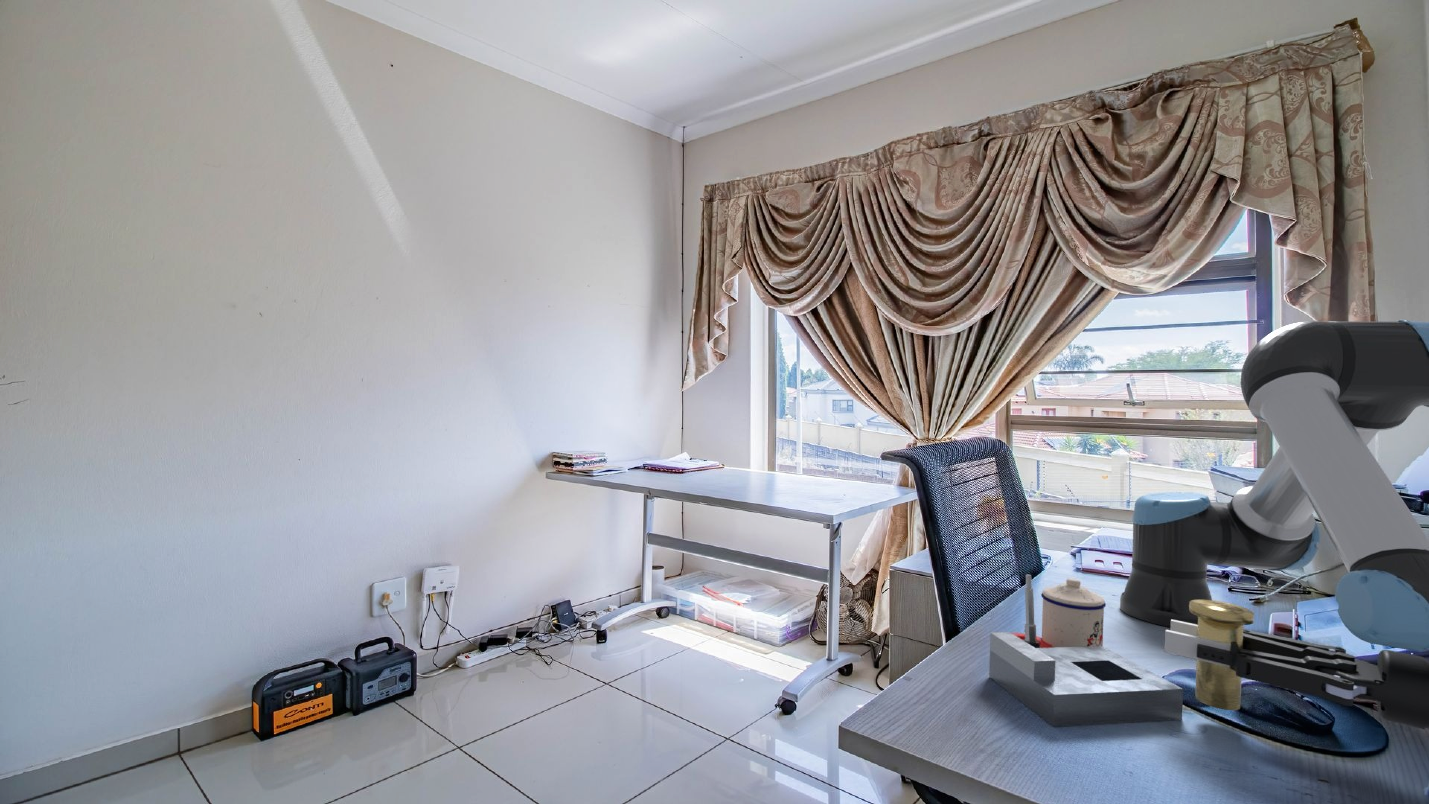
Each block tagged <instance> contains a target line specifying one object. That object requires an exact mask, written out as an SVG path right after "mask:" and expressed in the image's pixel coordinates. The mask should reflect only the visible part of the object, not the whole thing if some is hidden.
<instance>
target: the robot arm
mask: <svg viewBox="0 0 1429 804" xmlns="http://www.w3.org/2000/svg"><path fill="white" fill-rule="evenodd" d="M1241 368H1242V369H1241V373H1240V383H1239V384H1240V388H1241V393H1242V396H1243V400H1244V402H1245V403H1246V406H1247V407H1248V410H1249V412H1250V413H1251V415H1252V416H1253V417H1254V418H1255V419H1256V420H1259V421H1260V422H1263V423H1266V424H1267V425H1268V427H1269V429H1270V431H1271V433H1272V434H1273V436H1274V438H1275V440H1276V442H1277V444H1278V446H1279V447H1278V448H1277V449H1276V452H1274V455H1273V456H1272V458H1270V460H1269V462H1268V463H1267V465H1266V467H1265V468H1264V469H1263V471H1262V473H1260V476H1259V477H1258V479H1257V480H1256V482H1255V483H1254V484H1253V485H1250V486H1247V487H1246V486H1245V487H1243V488H1241V489H1239V490H1238V491H1237V492H1235V494H1234V495H1233V497H1232V499H1231V500H1230V502H1217V501H1215V502H1214V501H1211V500H1210V498H1209V497H1208V495H1205V494H1203V493H1197V492H1180V491H1179V492H1178V491H1176V492H1175V491H1174V492H1173V491H1172V492H1169V491H1167V492H1156V493H1155V492H1154V493H1148V494H1145V495H1142V496H1140V497H1138V498H1137V499H1136V500H1135V503H1134V506H1133V507H1134V509H1133V516H1132V519H1131V520H1132V521H1131V522H1132V523H1133V524H1132V558H1131V559H1132V561H1131V562H1132V563H1131V571H1130V575H1129V576H1128V579H1127V582H1126V584H1125V587H1124V592H1123V591H1122V593H1121V595H1120V599H1119V600H1120V602H1119V603H1120V604H1119V608H1120V610H1121V611H1122V612H1123V613H1125V614H1126V615H1129V616H1130V617H1133V618H1136V619H1138V620H1141V621H1144V622H1148V623H1151V624H1156V625H1160V626H1164V627H1169V628H1170V630H1169V629H1165V633H1164V634H1165V635H1164V652H1165V653H1168V654H1171V655H1176V656H1181V657H1184V658H1187V659H1188V658H1189V659H1193V660H1196V661H1197V660H1201V661H1205V662H1209V663H1213V664H1217V665H1221V666H1226V667H1229V666H1230V669H1232V670H1234V671H1236V675H1237V676H1238V677H1241V679H1246V680H1249V681H1254V682H1259V683H1261V684H1266V685H1270V686H1274V687H1278V688H1282V689H1287V690H1290V691H1293V692H1294V691H1295V692H1297V693H1302V694H1305V695H1311V696H1314V697H1318V698H1323V699H1325V700H1328V701H1332V702H1334V703H1337V704H1340V705H1342V706H1345V707H1353V706H1354V700H1355V699H1358V700H1359V699H1360V700H1367V701H1373V702H1376V708H1377V709H1376V710H1377V713H1378V716H1379V717H1380V718H1381V719H1384V720H1386V721H1390V722H1394V723H1397V724H1401V725H1405V726H1409V727H1413V728H1417V729H1421V730H1425V729H1429V660H1428V659H1426V658H1425V657H1424V656H1419V655H1414V654H1410V653H1404V652H1399V651H1395V650H1390V649H1382V650H1380V651H1379V653H1378V655H1377V662H1376V663H1370V662H1369V661H1364V660H1361V659H1358V658H1355V656H1354V655H1353V654H1349V653H1347V649H1346V648H1343V647H1341V646H1334V645H1333V646H1332V645H1324V644H1318V643H1314V642H1308V641H1304V640H1300V639H1299V640H1298V639H1293V638H1290V637H1289V638H1288V637H1284V636H1279V635H1274V634H1270V633H1269V634H1268V633H1265V632H1264V633H1263V632H1259V631H1255V630H1250V629H1246V628H1243V649H1239V648H1238V644H1237V643H1236V642H1231V650H1230V644H1229V643H1225V642H1220V641H1216V640H1211V639H1207V638H1202V637H1198V636H1197V635H1198V616H1196V615H1194V614H1192V613H1191V612H1190V611H1189V602H1190V601H1192V600H1213V598H1212V595H1211V592H1210V591H1211V590H1210V588H1209V585H1208V582H1207V578H1208V576H1207V573H1208V572H1207V571H1208V565H1213V566H1226V567H1233V568H1234V567H1236V568H1246V569H1256V570H1257V569H1258V570H1267V571H1273V572H1274V571H1276V572H1278V571H1295V570H1296V571H1297V570H1300V569H1302V568H1305V567H1306V566H1308V565H1309V564H1311V562H1312V561H1313V560H1314V558H1315V557H1316V555H1317V554H1318V550H1319V547H1318V544H1319V543H1320V542H1321V541H1320V540H1321V536H1320V535H1321V534H1320V528H1319V525H1318V523H1317V521H1316V519H1315V516H1314V514H1313V513H1314V512H1315V513H1316V516H1317V517H1318V519H1319V520H1320V521H1319V522H1320V523H1321V525H1322V526H1323V528H1324V530H1325V532H1326V534H1327V536H1328V538H1329V539H1330V541H1331V542H1332V544H1333V547H1334V548H1335V550H1336V552H1337V553H1338V556H1339V557H1340V559H1341V561H1342V563H1343V565H1344V566H1345V568H1346V570H1347V573H1345V574H1344V575H1343V576H1342V577H1341V578H1340V579H1339V581H1338V583H1337V584H1336V587H1335V595H1334V596H1335V597H1334V598H1335V601H1336V603H1337V604H1338V608H1337V613H1338V616H1339V618H1340V620H1341V622H1342V623H1343V626H1344V627H1345V628H1346V629H1347V630H1348V631H1349V632H1350V633H1351V634H1352V635H1354V636H1355V637H1356V638H1358V639H1359V640H1360V641H1363V642H1365V643H1367V644H1368V643H1369V644H1373V645H1377V646H1385V647H1390V648H1394V649H1401V650H1407V651H1410V652H1421V653H1422V652H1429V537H1428V536H1427V534H1426V533H1425V531H1424V530H1423V528H1422V527H1421V525H1420V524H1419V522H1418V520H1417V519H1416V518H1415V516H1414V515H1413V513H1412V511H1411V510H1410V509H1409V507H1408V506H1407V504H1406V503H1405V500H1403V498H1402V497H1401V495H1400V493H1399V492H1398V490H1397V489H1396V487H1395V486H1394V485H1393V483H1392V481H1391V480H1390V479H1389V477H1388V476H1387V474H1386V473H1385V471H1384V470H1383V468H1382V467H1381V465H1380V463H1379V462H1378V461H1377V459H1376V457H1375V456H1374V454H1373V453H1372V452H1371V450H1370V448H1369V447H1368V445H1369V443H1370V442H1371V441H1372V440H1373V438H1375V436H1376V435H1377V434H1378V432H1379V431H1388V430H1392V429H1395V428H1398V427H1399V426H1401V425H1402V424H1403V423H1404V422H1405V421H1406V420H1407V419H1408V418H1409V416H1410V415H1411V414H1412V413H1413V412H1414V410H1416V408H1418V407H1421V406H1424V407H1427V408H1429V321H1420V320H1419V321H1416V320H1415V321H1413V320H1408V319H1399V320H1396V321H1391V320H1389V321H1381V320H1380V321H1379V320H1378V321H1367V320H1366V321H1363V320H1362V321H1357V320H1355V321H1352V320H1350V321H1348V320H1347V321H1343V320H1342V321H1336V320H1335V321H1333V320H1332V321H1324V320H1323V321H1322V320H1309V321H1301V322H1296V323H1291V324H1287V325H1285V326H1282V327H1280V328H1277V329H1276V330H1273V331H1272V332H1270V333H1269V334H1267V335H1265V336H1264V337H1263V338H1262V339H1260V340H1259V341H1258V342H1257V343H1256V344H1255V345H1254V346H1253V348H1252V349H1251V350H1250V352H1249V353H1248V355H1247V356H1246V358H1245V361H1244V363H1243V365H1242V367H1241Z"/></svg>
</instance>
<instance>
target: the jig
mask: <svg viewBox="0 0 1429 804" xmlns="http://www.w3.org/2000/svg"><path fill="white" fill-rule="evenodd" d="M1012 633H1013V632H1010V631H1000V632H999V631H998V632H990V634H989V635H990V638H989V639H990V640H989V644H990V645H989V674H988V676H989V678H990V679H991V680H992V679H993V680H992V681H994V683H996V684H998V686H1000V687H1002V688H1003V690H1005V691H1007V692H1008V693H1009V694H1010V695H1012V696H1013V697H1015V698H1016V699H1017V700H1018V701H1020V702H1021V703H1022V704H1023V705H1024V706H1026V707H1027V708H1028V709H1030V710H1031V711H1032V712H1034V713H1035V714H1036V715H1037V716H1039V717H1040V718H1041V719H1042V720H1043V721H1045V722H1047V723H1048V724H1049V725H1050V726H1051V727H1053V728H1057V727H1061V728H1062V727H1076V726H1077V727H1078V726H1093V725H1094V726H1096V725H1112V724H1113V725H1114V724H1116V725H1117V724H1131V723H1150V722H1167V721H1169V722H1170V721H1183V705H1184V704H1183V701H1184V699H1183V698H1184V696H1183V695H1184V688H1182V687H1180V685H1179V686H1178V685H1176V684H1175V683H1173V682H1171V681H1169V680H1167V679H1165V678H1163V677H1161V676H1159V675H1158V674H1156V673H1154V672H1152V671H1151V670H1148V669H1146V668H1144V667H1143V666H1140V665H1139V664H1137V663H1135V662H1133V661H1131V660H1130V659H1128V658H1125V657H1124V656H1122V655H1120V654H1119V653H1116V652H1115V651H1112V650H1110V649H1108V648H1107V647H1105V646H1104V645H1103V646H1081V647H1053V648H1035V647H1033V646H1031V645H1030V644H1028V643H1027V642H1025V641H1023V640H1022V639H1020V638H1018V637H1017V636H1015V635H1014V634H1012Z"/></svg>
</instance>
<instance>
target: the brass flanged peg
mask: <svg viewBox="0 0 1429 804" xmlns="http://www.w3.org/2000/svg"><path fill="white" fill-rule="evenodd" d="M1189 611H1190V612H1191V613H1192V614H1194V615H1196V616H1198V635H1197V636H1198V637H1202V638H1207V639H1211V640H1216V641H1220V642H1225V643H1229V644H1230V650H1231V642H1236V643H1237V644H1238V648H1239V649H1243V629H1244V626H1248V625H1249V626H1250V625H1252V624H1254V622H1255V621H1254V617H1255V614H1254V613H1255V612H1253V611H1252V610H1250V609H1248V608H1246V607H1244V606H1241V605H1237V604H1234V603H1230V602H1225V601H1220V600H1213V599H1212V600H1192V601H1190V602H1189ZM1195 664H1196V667H1195V668H1196V670H1195V692H1194V693H1195V695H1194V697H1195V699H1196V700H1197V701H1198V702H1200V703H1202V704H1205V705H1207V706H1209V707H1212V708H1216V709H1219V710H1224V711H1238V710H1240V709H1241V701H1242V700H1241V699H1242V698H1241V697H1242V678H1241V677H1238V676H1237V675H1236V671H1234V670H1232V669H1230V666H1229V667H1226V666H1221V665H1217V664H1213V663H1209V662H1205V661H1201V660H1197V659H1196V663H1195Z"/></svg>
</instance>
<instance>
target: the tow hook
mask: <svg viewBox="0 0 1429 804" xmlns="http://www.w3.org/2000/svg"><path fill="white" fill-rule="evenodd" d="M1034 602H1035V601H1034V588H1033V587H1032V575H1031V574H1025V587H1024V603H1025V605H1024V606H1025V624H1024V633H1018V632H1011V633H1012V634H1014V635H1015V636H1017V637H1018V638H1020V639H1022V640H1023V641H1025V642H1027V643H1028V644H1030V645H1031V646H1033V647H1035V648H1052V645H1050V644H1048V643H1046V642H1044V641H1043V640H1042V637H1039V636H1038V635H1037V625H1036V623H1035V606H1034V604H1035V603H1034Z"/></svg>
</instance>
